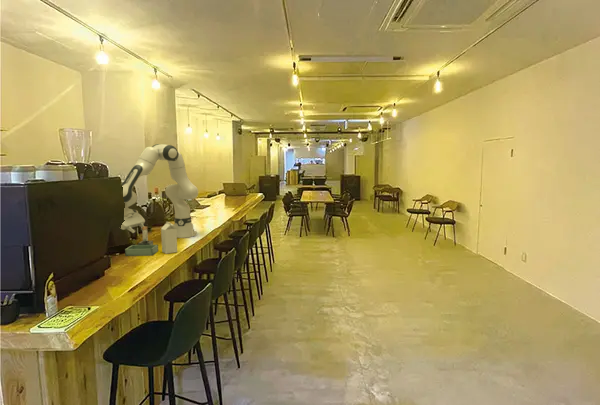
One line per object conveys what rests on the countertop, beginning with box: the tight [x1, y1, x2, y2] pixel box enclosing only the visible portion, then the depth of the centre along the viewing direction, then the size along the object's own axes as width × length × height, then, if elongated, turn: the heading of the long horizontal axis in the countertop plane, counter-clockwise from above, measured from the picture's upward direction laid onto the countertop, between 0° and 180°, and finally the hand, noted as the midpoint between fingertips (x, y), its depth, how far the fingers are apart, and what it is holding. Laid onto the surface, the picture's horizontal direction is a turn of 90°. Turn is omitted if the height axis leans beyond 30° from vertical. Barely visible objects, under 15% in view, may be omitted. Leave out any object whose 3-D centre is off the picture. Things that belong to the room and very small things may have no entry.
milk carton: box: [160, 221, 178, 255], centre depth 230 cm, size 7×7×19 cm
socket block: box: [137, 240, 154, 245], centre depth 237 cm, size 7×7×5 cm
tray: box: [124, 244, 159, 257], centre depth 227 cm, size 11×16×4 cm
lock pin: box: [141, 225, 149, 243], centre depth 236 cm, size 3×3×15 cm
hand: (139, 230), depth 236 cm, fingers open, 8 cm apart
